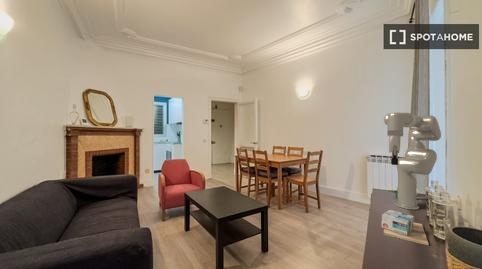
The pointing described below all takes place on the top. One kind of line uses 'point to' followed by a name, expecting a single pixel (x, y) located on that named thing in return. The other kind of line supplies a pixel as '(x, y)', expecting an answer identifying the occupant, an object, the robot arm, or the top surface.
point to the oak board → (410, 234)
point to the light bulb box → (397, 222)
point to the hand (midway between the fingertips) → (394, 164)
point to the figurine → (395, 192)
